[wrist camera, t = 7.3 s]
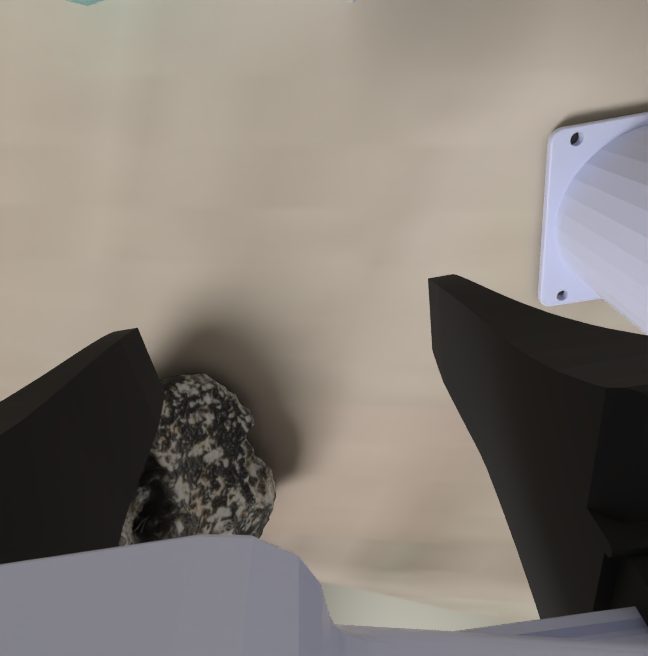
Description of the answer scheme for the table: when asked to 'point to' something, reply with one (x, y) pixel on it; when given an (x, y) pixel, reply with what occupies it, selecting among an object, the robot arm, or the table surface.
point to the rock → (200, 469)
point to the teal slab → (85, 2)
